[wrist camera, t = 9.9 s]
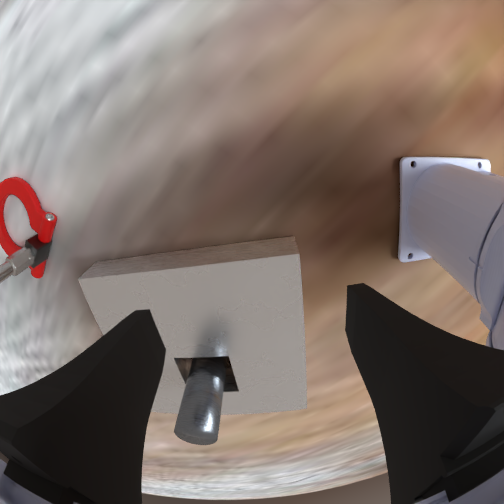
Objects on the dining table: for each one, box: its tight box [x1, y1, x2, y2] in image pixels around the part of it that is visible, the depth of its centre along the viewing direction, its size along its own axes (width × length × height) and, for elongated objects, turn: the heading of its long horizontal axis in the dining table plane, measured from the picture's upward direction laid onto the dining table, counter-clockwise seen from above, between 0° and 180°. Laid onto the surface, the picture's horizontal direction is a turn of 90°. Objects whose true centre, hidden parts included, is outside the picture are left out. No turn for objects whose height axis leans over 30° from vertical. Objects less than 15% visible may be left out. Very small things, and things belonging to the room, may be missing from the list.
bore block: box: [78, 236, 307, 415], centre depth 22 cm, size 16×16×3 cm
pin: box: [174, 356, 228, 445], centre depth 20 cm, size 3×3×9 cm
